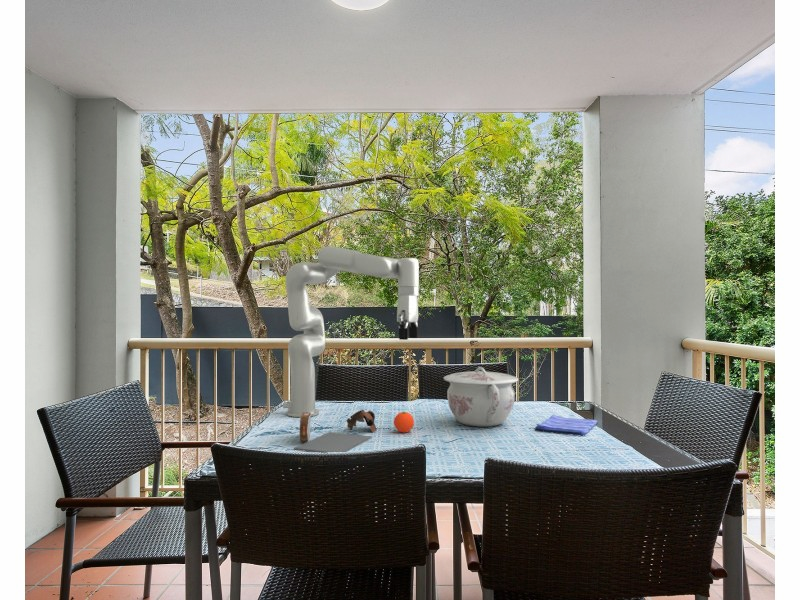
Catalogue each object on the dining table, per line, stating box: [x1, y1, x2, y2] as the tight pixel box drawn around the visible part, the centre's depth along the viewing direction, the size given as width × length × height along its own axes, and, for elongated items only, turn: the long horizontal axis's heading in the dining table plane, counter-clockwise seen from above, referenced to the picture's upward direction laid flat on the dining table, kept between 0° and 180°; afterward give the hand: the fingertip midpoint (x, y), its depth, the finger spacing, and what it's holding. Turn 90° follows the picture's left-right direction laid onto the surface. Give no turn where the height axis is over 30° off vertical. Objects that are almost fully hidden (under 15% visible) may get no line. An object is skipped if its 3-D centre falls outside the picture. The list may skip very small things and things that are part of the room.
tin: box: [299, 412, 312, 443], centre depth 190 cm, size 15×3×8 cm, turn 5°
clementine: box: [393, 411, 415, 433], centre depth 201 cm, size 8×7×7 cm
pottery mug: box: [345, 409, 377, 434], centre depth 204 cm, size 12×10×8 cm
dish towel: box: [534, 414, 598, 437], centre depth 208 cm, size 17×24×3 cm
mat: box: [293, 431, 373, 453], centre depth 185 cm, size 16×22×1 cm
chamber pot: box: [443, 366, 519, 428], centre depth 214 cm, size 28×28×21 cm
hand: (408, 338), depth 213 cm, fingers open, 9 cm apart
